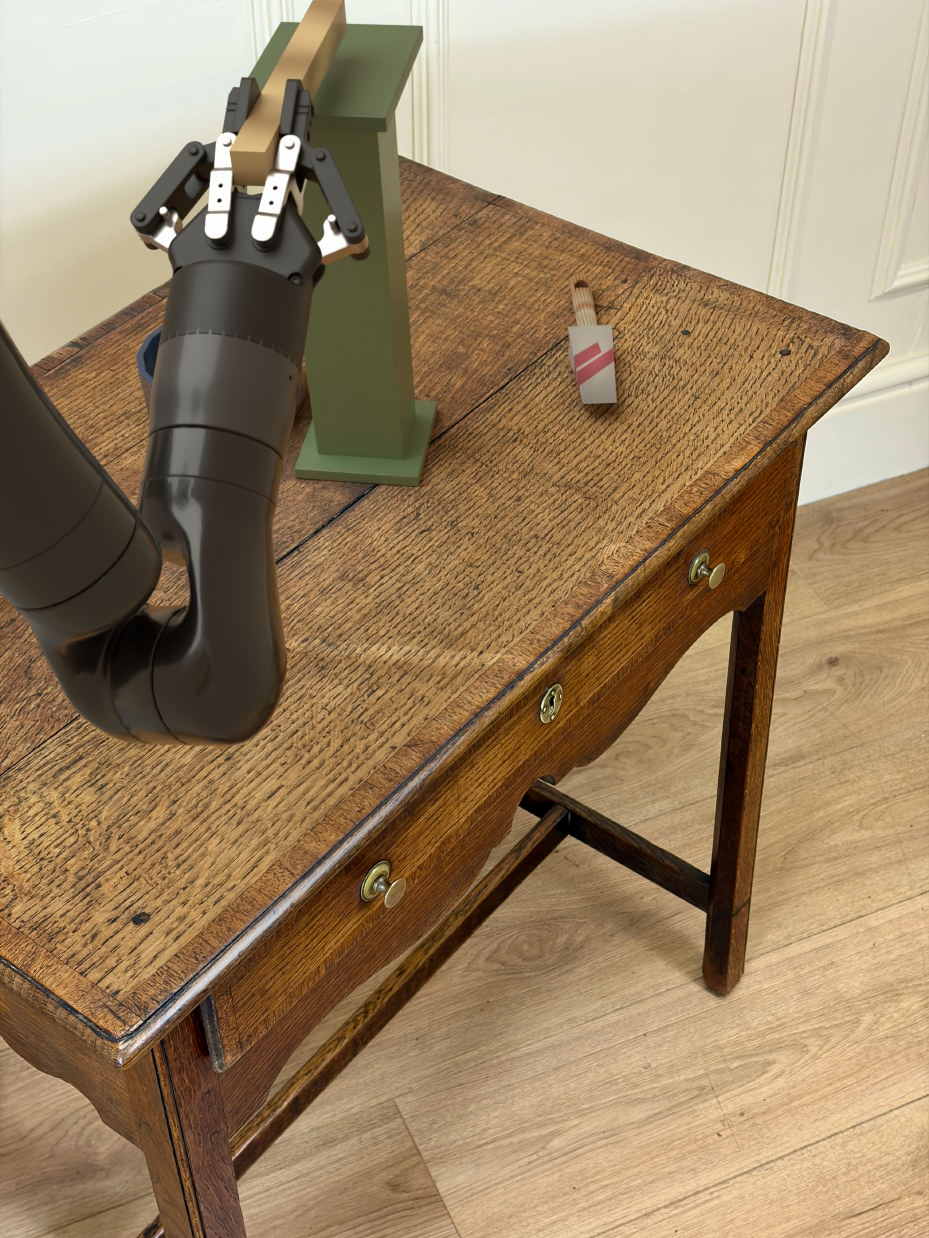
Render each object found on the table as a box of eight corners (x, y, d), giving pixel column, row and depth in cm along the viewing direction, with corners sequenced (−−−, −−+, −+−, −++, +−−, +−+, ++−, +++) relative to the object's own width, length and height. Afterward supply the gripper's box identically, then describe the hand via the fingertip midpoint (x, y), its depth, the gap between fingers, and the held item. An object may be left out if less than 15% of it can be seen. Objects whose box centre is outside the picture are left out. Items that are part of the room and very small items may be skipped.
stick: (270, 187, 70) (265, 151, 69) (234, 185, 70) (228, 150, 69) (347, 30, 84) (344, -2, 83) (317, 29, 85) (313, -3, 83)
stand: (289, 494, 103) (226, 111, 80) (327, 389, 112) (280, 21, 90) (414, 503, 101) (385, 117, 79) (441, 396, 111) (422, 25, 89)
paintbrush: (576, 389, 106) (560, 268, 121) (575, 417, 108) (559, 295, 122) (623, 387, 106) (602, 267, 120) (622, 415, 108) (600, 293, 122)
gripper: (344, 347, 64) (385, 45, 68) (77, 332, 66) (133, 38, 70) (368, 408, 72) (405, 132, 76) (127, 393, 73) (176, 123, 77)
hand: (274, 88), depth 73 cm, fingers closed on stick, 2 cm apart
